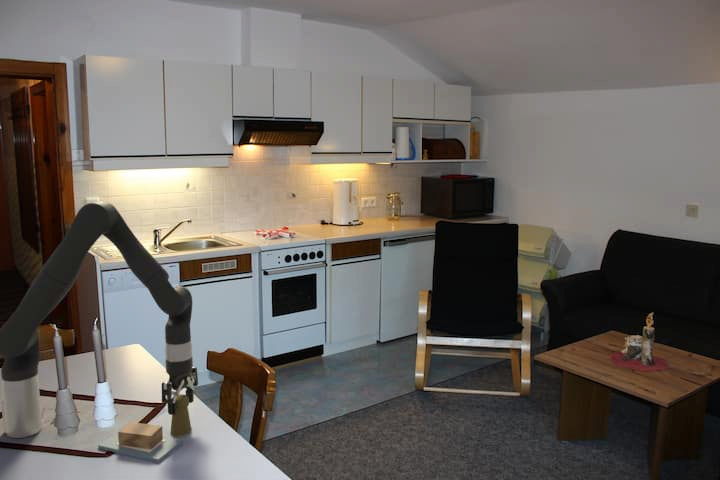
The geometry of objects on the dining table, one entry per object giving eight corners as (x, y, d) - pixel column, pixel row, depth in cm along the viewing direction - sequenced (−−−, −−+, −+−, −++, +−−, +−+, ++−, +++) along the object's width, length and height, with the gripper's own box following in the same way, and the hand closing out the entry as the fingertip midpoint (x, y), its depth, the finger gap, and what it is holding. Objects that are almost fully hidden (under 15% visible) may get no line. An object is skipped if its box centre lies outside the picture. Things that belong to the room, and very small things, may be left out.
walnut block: (118, 445, 172) (118, 431, 172) (130, 434, 178) (130, 422, 178) (151, 449, 171) (151, 436, 170) (162, 439, 176) (162, 425, 176)
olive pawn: (185, 437, 180) (184, 401, 178) (166, 434, 181) (165, 399, 179) (195, 427, 186) (194, 393, 184) (176, 425, 187) (175, 391, 185)
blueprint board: (98, 448, 173) (98, 444, 173) (125, 430, 183) (125, 427, 183) (158, 462, 166) (158, 458, 166) (183, 443, 176) (183, 439, 176)
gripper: (182, 346, 187) (184, 396, 190) (152, 362, 174) (155, 416, 177) (204, 349, 185) (205, 400, 188) (174, 366, 172) (177, 420, 175)
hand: (181, 408), depth 182 cm, fingers open, 8 cm apart
